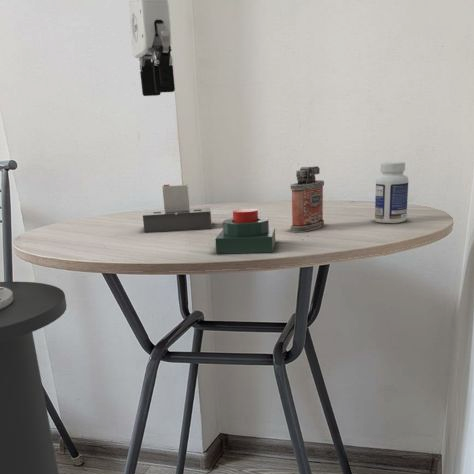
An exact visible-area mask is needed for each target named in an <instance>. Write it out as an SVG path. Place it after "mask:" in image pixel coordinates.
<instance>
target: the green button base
mask: <svg viewBox="0 0 474 474" xmlns="http://www.w3.org/2000/svg"><path fill="white" fill-rule="evenodd" d="M269 223H270V221H269V217H268V218H267V217H264V216H263V217H262V216H258V221H256V222H246V223H237V222H233V217H232V218H228V219H224V220H223V222H222V230H220V232H219V233H218V235H217V236H216V238H215V253H216V255H225V254H227V255H228V254H232V255H233V254H259V253H260V254H261V253H265V254H266V253H267V254H268V253H273V252H274V248H275V244H276V227H270V226H269Z"/></svg>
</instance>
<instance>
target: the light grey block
mask: <svg viewBox="0 0 474 474" xmlns="http://www.w3.org/2000/svg"><path fill="white" fill-rule="evenodd" d="M161 188H162V198H163V210H165V212H179V211H190V209H191V205H190V193H189V184H170V183H165V184H163V185H162V187H161Z"/></svg>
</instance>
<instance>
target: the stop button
mask: <svg viewBox="0 0 474 474" xmlns="http://www.w3.org/2000/svg"><path fill="white" fill-rule="evenodd" d="M258 217H259V210H258V209H257V208H238V209H234V210H232V218H233V222H237V223H246V222H256V221H258Z"/></svg>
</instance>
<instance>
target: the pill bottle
mask: <svg viewBox="0 0 474 474" xmlns="http://www.w3.org/2000/svg"><path fill="white" fill-rule="evenodd" d="M379 171H380V173H381V175H379V176H378V177H377V178H376V180H375V199H374V201H375V203H374V221H375V222H376V223H381V224H397V223H403V222H405V221H406V220H407V219H408V217H407V215H408V200H409V199H408V198H409V197H408V196H409V177H408V176H407V175H405V174H404V172H405V171H406V162H405V161H391V162H381V163H380V169H379Z"/></svg>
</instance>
